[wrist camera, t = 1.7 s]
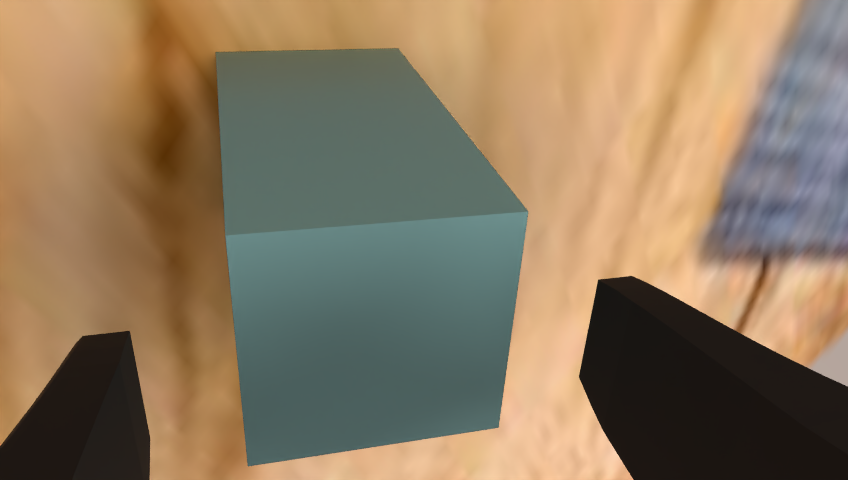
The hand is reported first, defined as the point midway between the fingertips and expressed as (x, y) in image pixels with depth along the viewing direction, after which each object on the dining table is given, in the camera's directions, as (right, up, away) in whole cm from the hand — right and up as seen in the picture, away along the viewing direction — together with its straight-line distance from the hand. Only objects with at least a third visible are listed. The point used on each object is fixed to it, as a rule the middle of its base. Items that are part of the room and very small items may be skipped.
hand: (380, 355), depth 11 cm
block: (-2, +5, +8) cm, 10 cm away
